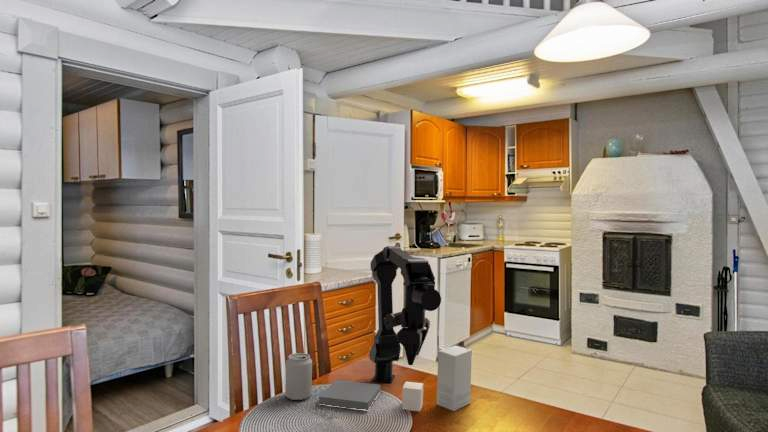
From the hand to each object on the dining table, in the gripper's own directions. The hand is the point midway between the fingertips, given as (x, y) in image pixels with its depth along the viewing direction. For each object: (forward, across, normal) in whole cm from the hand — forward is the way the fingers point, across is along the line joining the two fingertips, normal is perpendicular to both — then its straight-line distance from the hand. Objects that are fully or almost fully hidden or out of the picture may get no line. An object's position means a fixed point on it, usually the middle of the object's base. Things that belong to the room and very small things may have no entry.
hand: (413, 359), depth 129 cm
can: (+13, +3, -33) cm, 36 cm away
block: (+13, 0, 0) cm, 13 cm away
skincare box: (+13, -5, +11) cm, 18 cm away
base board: (+13, 0, -18) cm, 22 cm away
